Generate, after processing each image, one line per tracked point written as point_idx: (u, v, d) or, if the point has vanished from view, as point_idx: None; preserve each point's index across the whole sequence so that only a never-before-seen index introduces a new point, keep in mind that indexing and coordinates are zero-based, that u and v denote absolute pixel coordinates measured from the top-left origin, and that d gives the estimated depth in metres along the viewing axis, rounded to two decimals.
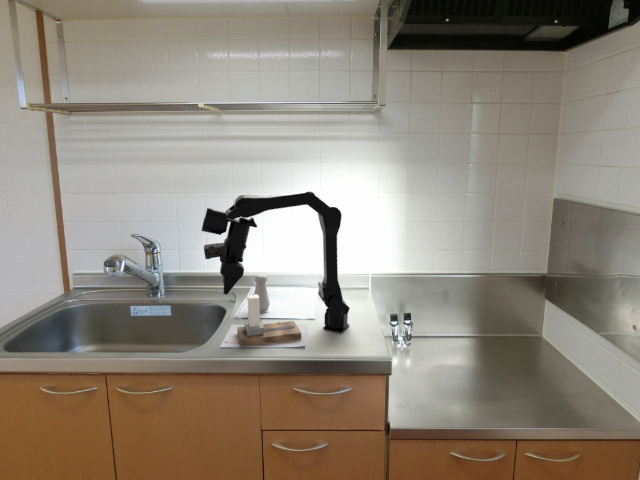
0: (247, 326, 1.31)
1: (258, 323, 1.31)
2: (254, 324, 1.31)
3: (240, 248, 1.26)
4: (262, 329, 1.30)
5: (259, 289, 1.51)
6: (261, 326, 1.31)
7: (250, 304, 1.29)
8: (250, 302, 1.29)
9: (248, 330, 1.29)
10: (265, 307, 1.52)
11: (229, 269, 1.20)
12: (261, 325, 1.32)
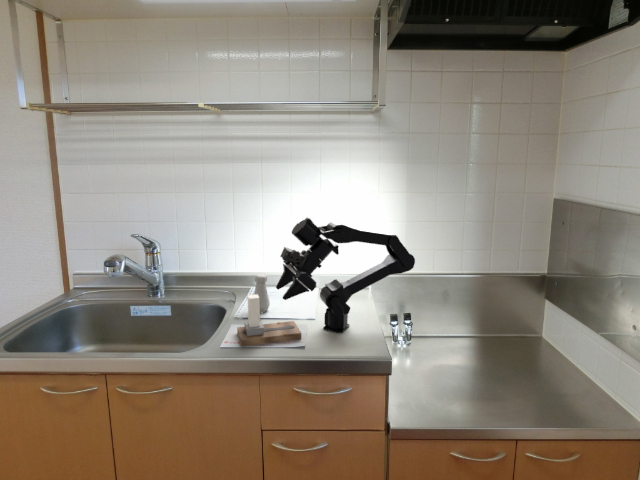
0: (247, 326, 1.31)
1: (258, 323, 1.31)
2: (254, 324, 1.31)
3: (316, 265, 1.32)
4: (262, 329, 1.30)
5: (259, 289, 1.51)
6: (261, 326, 1.31)
7: (250, 304, 1.29)
8: (250, 302, 1.29)
9: (248, 330, 1.29)
10: (265, 307, 1.52)
11: (305, 279, 1.24)
12: (261, 325, 1.32)
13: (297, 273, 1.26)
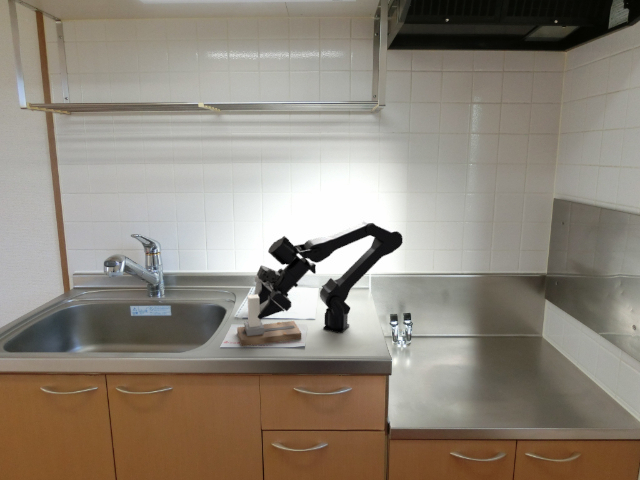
0: (247, 326, 1.31)
1: (258, 323, 1.31)
2: (254, 324, 1.31)
3: (292, 284, 1.31)
4: (262, 329, 1.30)
5: (259, 289, 1.51)
6: (261, 326, 1.31)
7: (250, 304, 1.29)
8: (250, 302, 1.29)
9: (248, 330, 1.29)
10: None
11: (280, 300, 1.23)
12: (261, 325, 1.32)
13: (272, 293, 1.25)
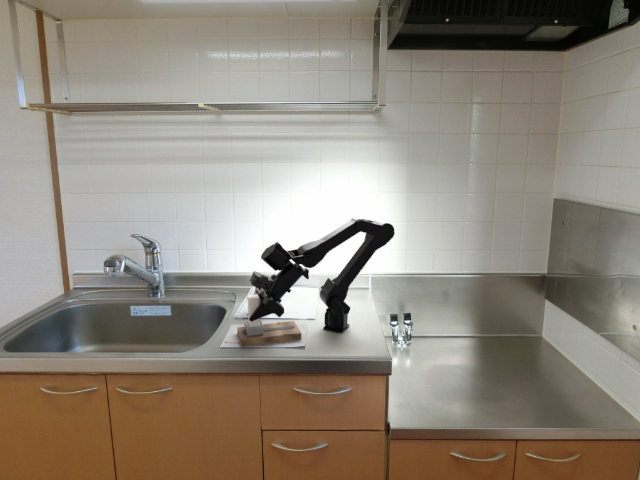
0: (247, 326, 1.31)
1: (258, 323, 1.31)
2: (254, 324, 1.31)
3: (285, 290, 1.30)
4: (262, 329, 1.30)
5: None
6: (261, 326, 1.31)
7: (250, 304, 1.29)
8: (250, 302, 1.29)
9: (248, 330, 1.29)
10: None
11: (273, 306, 1.23)
12: (261, 325, 1.32)
13: (265, 299, 1.25)
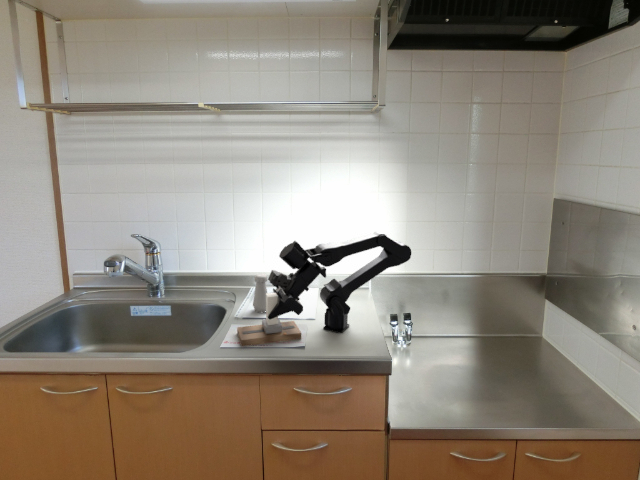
0: (266, 324, 1.33)
1: (276, 321, 1.33)
2: (272, 322, 1.33)
3: (303, 288, 1.32)
4: (280, 327, 1.32)
5: (259, 289, 1.51)
6: (279, 324, 1.33)
7: (269, 302, 1.31)
8: (269, 300, 1.31)
9: (267, 328, 1.31)
10: (265, 307, 1.52)
11: (292, 304, 1.25)
12: (279, 323, 1.34)
13: (284, 297, 1.26)
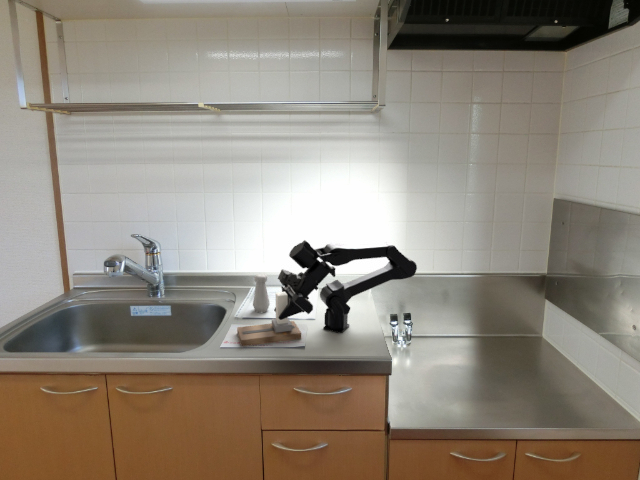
0: (275, 323, 1.34)
1: (286, 320, 1.34)
2: (282, 321, 1.33)
3: (312, 288, 1.33)
4: (290, 326, 1.33)
5: (259, 289, 1.51)
6: (289, 323, 1.34)
7: (278, 301, 1.32)
8: (278, 299, 1.31)
9: (276, 327, 1.32)
10: (265, 307, 1.52)
11: (302, 303, 1.26)
12: (289, 322, 1.35)
13: (294, 296, 1.27)
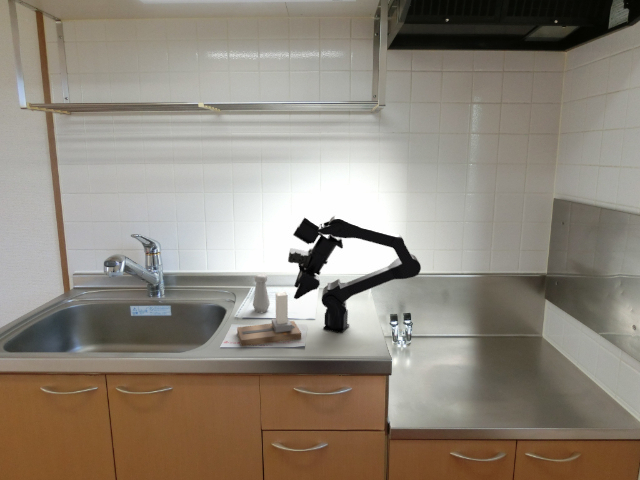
0: (275, 323, 1.34)
1: (286, 320, 1.34)
2: (282, 321, 1.33)
3: (321, 262, 1.34)
4: (290, 326, 1.33)
5: (259, 289, 1.51)
6: (289, 323, 1.34)
7: (278, 301, 1.32)
8: (278, 299, 1.31)
9: (276, 327, 1.32)
10: (265, 307, 1.52)
11: (307, 279, 1.28)
12: (289, 322, 1.35)
13: (300, 274, 1.31)
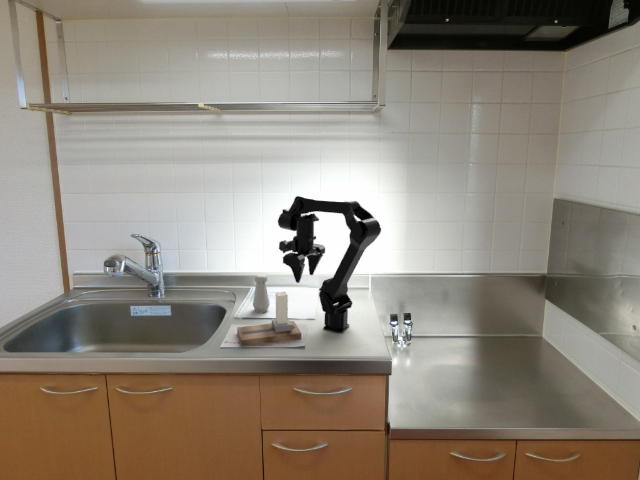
0: (275, 323, 1.34)
1: (286, 320, 1.34)
2: (282, 321, 1.33)
3: (305, 241, 1.42)
4: (290, 326, 1.33)
5: (259, 289, 1.51)
6: (289, 323, 1.34)
7: (278, 301, 1.32)
8: (278, 299, 1.31)
9: (276, 327, 1.32)
10: (265, 307, 1.52)
11: (287, 260, 1.38)
12: (289, 322, 1.35)
13: None
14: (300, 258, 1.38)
